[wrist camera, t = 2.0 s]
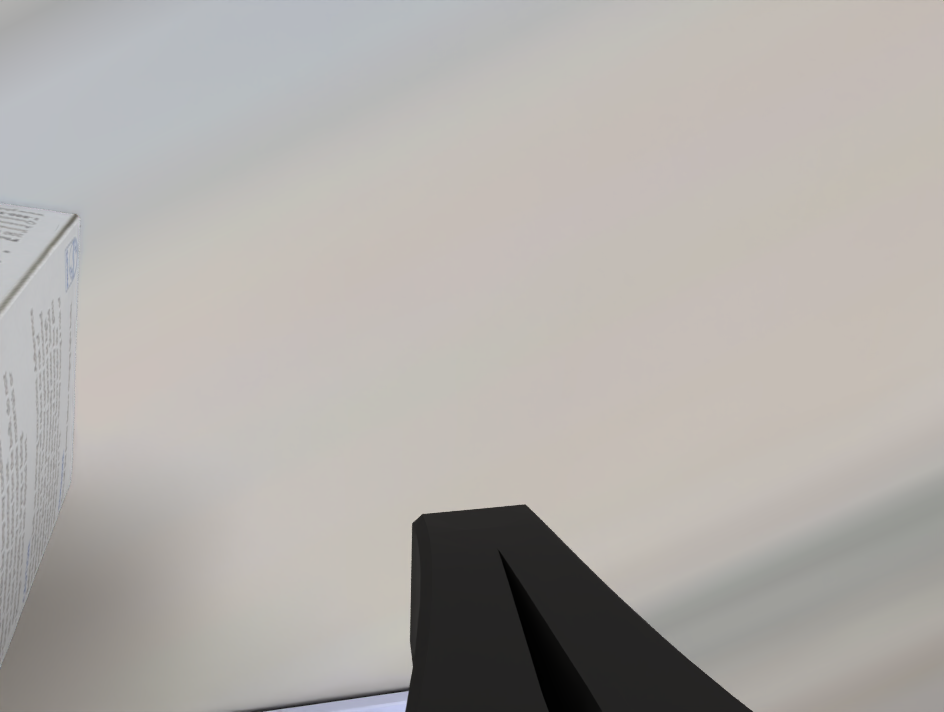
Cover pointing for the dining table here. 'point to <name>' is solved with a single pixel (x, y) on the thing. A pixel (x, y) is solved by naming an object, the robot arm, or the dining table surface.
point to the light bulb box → (34, 391)
